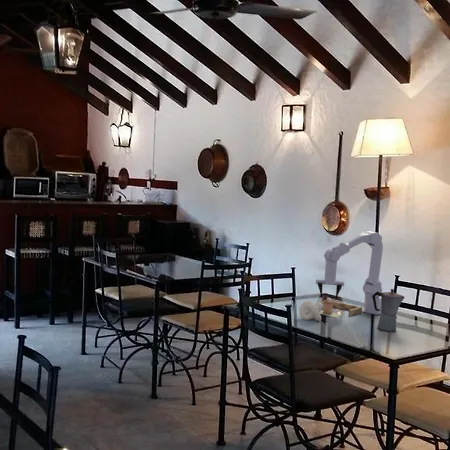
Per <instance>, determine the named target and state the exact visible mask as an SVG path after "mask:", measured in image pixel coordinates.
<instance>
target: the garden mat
mask: <svg viewBox="0 0 450 450" xmlns="http://www.w3.org/2000/svg"><path fill="white" fill-rule="evenodd" d="M320 315H322V316H326V317H330V318H338V317H342V316H343V314H341V313H337V312H332V314H324V313H323V309H322V310H321V311H320Z"/></svg>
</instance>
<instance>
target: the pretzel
mask: <svg viewBox="0 0 450 450" xmlns="http://www.w3.org/2000/svg"><path fill="white" fill-rule="evenodd" d="M318 302H319V303H318ZM318 302H316V303H317V304H316V303H314V302H313V301H312V300H305V301H303V302H302V303H301V305H300V307H299V311H298V312H299V316H300V318H301V319H302V320H303V321H310V320H312V319H315V321H316V322H321V320H322V316H321V315H322V314H320V311H321V310H323V304H322V303H320V302H321V301H318Z"/></svg>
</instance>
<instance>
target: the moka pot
mask: <svg viewBox="0 0 450 450" xmlns="http://www.w3.org/2000/svg"><path fill="white" fill-rule="evenodd" d="M376 295H378V296H379V297H380V298H381V308H382V310H381V312H382V313H381V314H380V316H379V320H378V323H377V329H379V330H381V331H385V332H390V333H391V332H392V331H393V332H396V331H397V318H398V317H397V314H398V311H399V308H400V305H401V304H402V302H403V301H404V299H405V298H406V297H405V296H404V295H402V294H399V293H395V289H393V288H391V289H390V291H388V292H387V291H385V292H383V291H382V292H376V293H375V294H374V295H373V296H372V298H373V302H374V307H375V310H376V311H380V309H377V306H376V299H375V296H376Z"/></svg>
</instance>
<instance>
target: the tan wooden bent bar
mask: <svg viewBox="0 0 450 450" xmlns="http://www.w3.org/2000/svg"><path fill="white" fill-rule="evenodd" d="M333 301H334V300H333ZM319 302H320V303H322V304H323V300H322V301H318V302H316V303H315V305H316V304H317V303H319ZM333 308H335V309H341V310H346V311H348V317H353V316H356V315H359V314H362V313H363V312H362V310H363V307H362V306H358V305H354V304H349V303H343V302H338V301H336V300H335V301H334V303H333Z"/></svg>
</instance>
